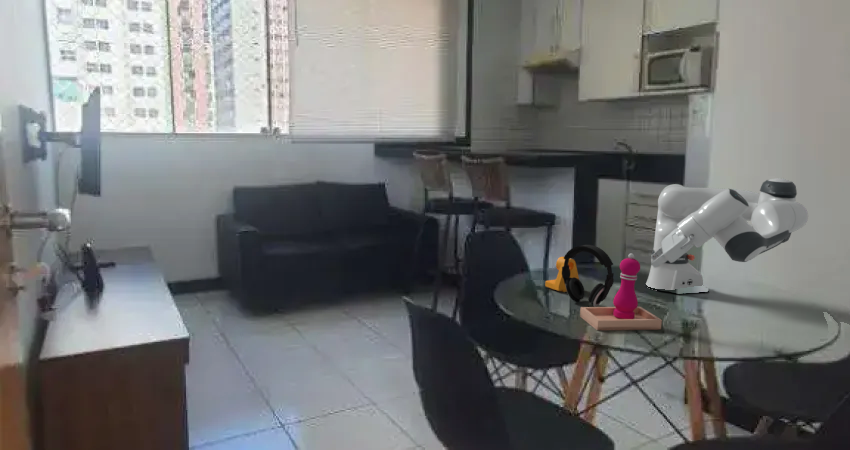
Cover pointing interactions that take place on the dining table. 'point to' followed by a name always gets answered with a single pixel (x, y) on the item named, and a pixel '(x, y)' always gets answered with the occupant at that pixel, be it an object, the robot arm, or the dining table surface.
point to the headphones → (575, 285)
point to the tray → (619, 319)
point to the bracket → (559, 281)
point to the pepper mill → (627, 289)
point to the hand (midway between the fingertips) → (652, 262)
